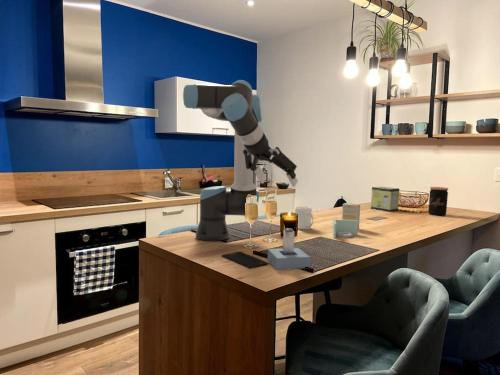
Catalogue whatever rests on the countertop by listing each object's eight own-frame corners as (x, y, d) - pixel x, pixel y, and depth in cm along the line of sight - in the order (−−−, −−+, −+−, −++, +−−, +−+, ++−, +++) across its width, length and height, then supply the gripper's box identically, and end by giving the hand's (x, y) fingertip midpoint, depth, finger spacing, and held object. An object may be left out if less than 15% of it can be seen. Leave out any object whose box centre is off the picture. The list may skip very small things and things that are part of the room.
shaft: (284, 265, 137) (285, 230, 136) (280, 262, 141) (281, 228, 140) (294, 265, 138) (296, 230, 137) (291, 261, 142) (292, 227, 141)
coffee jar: (425, 214, 253) (427, 187, 251) (432, 212, 260) (434, 186, 258) (442, 216, 245) (444, 189, 243) (448, 215, 252) (450, 188, 250)
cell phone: (239, 253, 152) (239, 251, 152) (269, 265, 138) (269, 262, 138) (221, 257, 147) (221, 254, 147) (250, 270, 133) (250, 267, 133)
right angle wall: (333, 239, 180) (334, 223, 179) (332, 233, 192) (333, 219, 191) (360, 241, 178) (360, 225, 177) (357, 235, 190) (357, 220, 189)
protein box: (378, 207, 277) (380, 186, 276) (398, 210, 265) (400, 188, 264) (370, 208, 271) (371, 186, 269) (390, 212, 259) (391, 189, 257)
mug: (306, 231, 193) (306, 210, 192) (291, 227, 203) (291, 207, 202) (318, 230, 197) (319, 209, 196) (303, 225, 207) (304, 206, 206)
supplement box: (359, 228, 203) (360, 204, 202) (356, 230, 199) (357, 205, 198) (344, 226, 208) (345, 202, 207) (341, 227, 204) (342, 203, 203)
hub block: (276, 269, 132) (277, 258, 132) (267, 259, 144) (267, 249, 144) (309, 267, 135) (309, 256, 135) (297, 258, 147) (298, 247, 146)
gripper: (219, 145, 129) (247, 187, 142) (279, 147, 113) (305, 193, 126) (230, 130, 132) (256, 172, 145) (290, 130, 116) (314, 176, 130)
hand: (279, 182), depth 136 cm, fingers open, 13 cm apart
